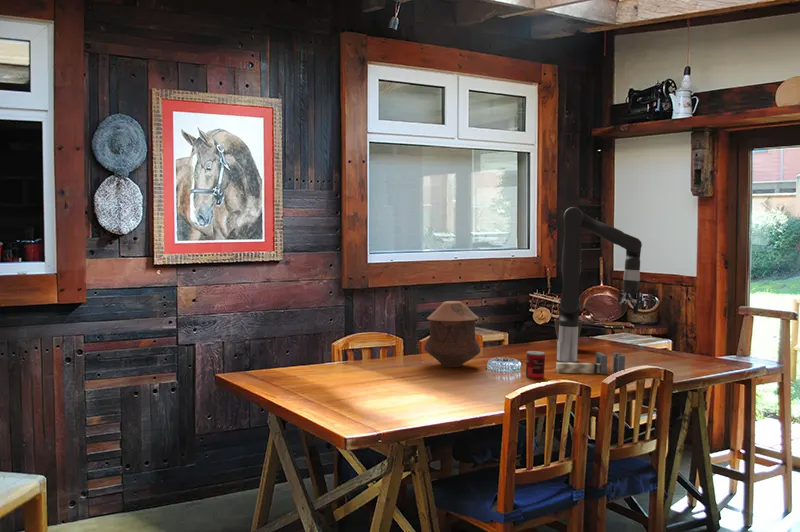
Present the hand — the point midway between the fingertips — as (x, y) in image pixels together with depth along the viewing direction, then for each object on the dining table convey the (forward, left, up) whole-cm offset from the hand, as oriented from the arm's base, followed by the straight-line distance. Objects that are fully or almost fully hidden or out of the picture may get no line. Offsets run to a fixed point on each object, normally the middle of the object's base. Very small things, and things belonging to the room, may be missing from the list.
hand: (629, 312), depth 372 cm
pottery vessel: (-86, -14, -26) cm, 91 cm away
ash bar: (-29, -22, -25) cm, 44 cm away
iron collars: (-15, -22, -25) cm, 37 cm away
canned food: (-52, -37, -26) cm, 69 cm away
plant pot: (-18, +45, -26) cm, 55 cm away
